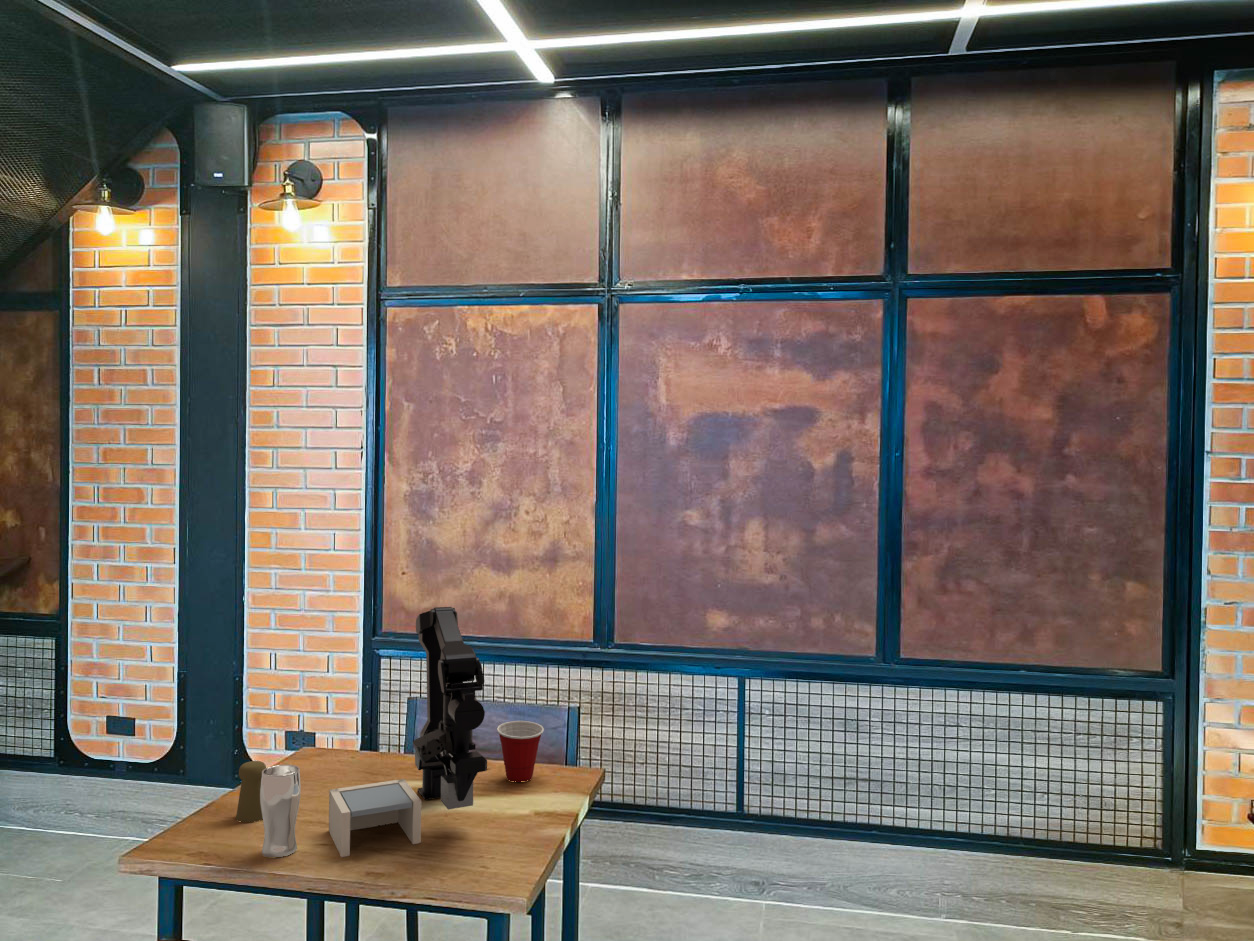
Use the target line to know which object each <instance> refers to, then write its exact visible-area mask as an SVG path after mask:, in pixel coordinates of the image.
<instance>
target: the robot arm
mask: <svg viewBox="0 0 1254 941" xmlns="http://www.w3.org/2000/svg"><path fill="white" fill-rule="evenodd" d="M415 632H416V634H418V642H419V643H420V646H422V648H423V650H424V651H425V654H426V656H425V657H426V715H427V716H426V717H427V718H426V722H425V724H424V725H423V727H422V729H421V731H420V734H419V737H417V738H415V739H414V740H412V746H413V747H414V751H415V753H414V764H415V767H416V768H417V770H418V771H422V781H421V782H422V784H421V785H422V787H420V788H417V792H418V791H419V792H418V793H419V795H420V794H421V795H422V796H421V795H420V796H421V797H422V798H423V799H424V800H425V801H426V799H428V800H432V798H434V799H440V798H441V776H443V775H449V774H453V775H454V776H455V783H456V791H457V797H458V801H463V800H464V799H465V797H466V795H467V793H468V791H469V789H470V787H471V784H472V782H473V783H474V781H475V779H476V777H477V775H478V773H483V772H486V771H487V770H488V760H487V759H486V758H485V757H484V756H483V755H482V754H481V753H480V752H479V751H478V750H476V746H477V744H476V743H475V742H474V741H473V735H474V733H473V730H476V729H477V728H479V727H480V726H481V725H482V723H483V722H484V720H485V715H486V714H485V712H486V711H485V709H484V708H485V707H484V706H483V704H482V703H481V702H480V701H479V700H478V699H477V698H476V692H478V691H484V684H485V681H486V680H485V676H484V671H483V666H482V663H481V661H480V658H479V657H477V655H476V653H475V651H474V649H473V647H471V646H470V645H467V644H466V643H465V642H464V640H463V637H462V633H461V631H460V627H459V618H458V612H457V611H456V608H455V607H452V606H440V607H439V606H434V608H431V609H430V610H428V611H424V612H421V613H419V614H418V615H417V617H416V619H415ZM473 750H475V751H473ZM439 797H440V798H439Z"/></svg>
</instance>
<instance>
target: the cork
mask: <svg viewBox="0 0 1254 941" xmlns="http://www.w3.org/2000/svg"><path fill="white" fill-rule="evenodd" d="M266 768H267V765H266V763H265V762H263V761H259V760H252V761H251V760H250V761H247V762H244V763H243V764H241V765H240V767H239V769H238V777H239V779H240V780H241V782H240V789H239V796H238V803H237V809H236V816H235V820H236V821H237V820H238V821H241V822H240V823H243V822H249V823H255V822H254V821H256V822H259V820H260V821H263V820H262V819H263V818H262V812H261V804H260V788H261V778H262V771H263V770H264V769H266ZM238 821H237V822H238Z"/></svg>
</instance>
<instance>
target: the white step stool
mask: <svg viewBox="0 0 1254 941" xmlns="http://www.w3.org/2000/svg"><path fill="white" fill-rule="evenodd" d="M394 784H398V785H399V786H400V787H401V789H402V790H403V791H404V793H405V794H406V795H407V796H408V798H409V799H410V800H411V802H412V808H405V809H399V810H393V811H387V812H380V813H374V814H368V815H362V816H356V817H352V816H351V814H350V810H349V809H348V807H347V805H346V803H345V801H344V800H343V798H342V796H341V792H346V791H353V790H360V789H367V788H374V787H380V786H387V785H394ZM328 793H329V794H328V832H329V834H330V837H331V839H332V840H333V843H334V845H335V847H336V850H337V851H339V852H338V854H339V853H340V854H339V856H340V857H341V858H343V857H344V858H345V857H349V856H350V854H351V850H350V848H351V831H357V830H360V829H361V830H362V829H367V828H368V829H369V828H373V827H379V826H378V825H380V826H385V824H386V825H391V824H390V823H392V824H397V822H398V825H399V826H400V828H401V829H402V831H403V833H405V835H406V836H407V838H408V839H409V841H410V842H411V844H412V845H417V844H421V842H422V841H421V839H422V831H421V830H422V800H421V798H420V797H419V796H418V795H417V793H416V792H415V791H414V790H413V788H412V787H411V786H410V785H409V783H408V782H407V780H405V779H404V778H401V779H394V780H387V781H382V782H374V783H373V782H372V783H366V784H361V785H360V784H359V785H351V786H345V787H339V788H333V789H332V788H331V789H329V791H328Z"/></svg>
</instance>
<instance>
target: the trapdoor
mask: <svg viewBox="0 0 1254 941" xmlns="http://www.w3.org/2000/svg"><path fill="white" fill-rule="evenodd" d="M341 796H342V798H343V800H344V801H345V803H346V805H347V807H348V809H349V810H350V814H351V816H352V817H356V816H362V815H368V814H374V813H380V812H387V811H393V810H399V809H405V808H412V802H411V800H410V799H409V798H408V796H407V795H406V794H405V793H404V791H403V790H402V789H401V787H400V786H399V785H398V784H394V785H387V786H380V787H374V788H367V789H360V790H353V791H346V792H341Z"/></svg>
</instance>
